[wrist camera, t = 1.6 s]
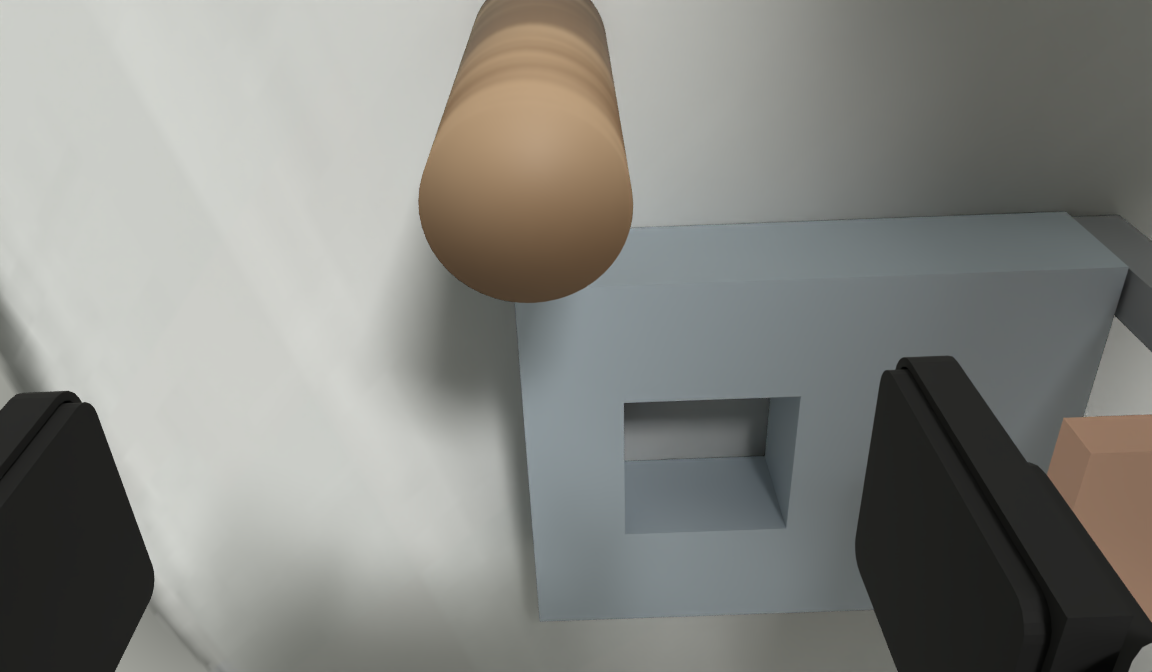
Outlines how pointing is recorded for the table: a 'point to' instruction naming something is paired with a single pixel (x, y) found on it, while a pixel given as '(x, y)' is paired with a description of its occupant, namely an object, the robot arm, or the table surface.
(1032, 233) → the socket deck
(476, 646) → the table surface
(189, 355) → the table surface
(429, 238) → the peg
